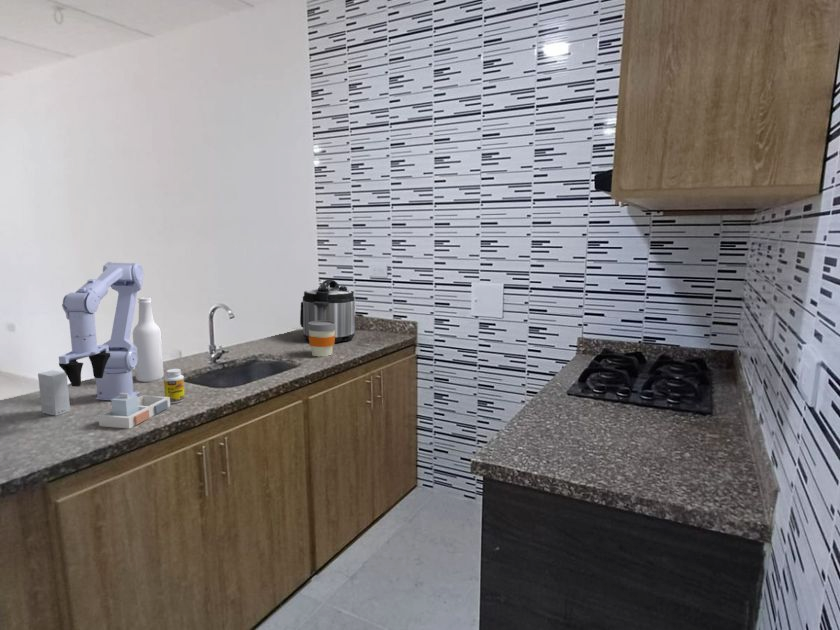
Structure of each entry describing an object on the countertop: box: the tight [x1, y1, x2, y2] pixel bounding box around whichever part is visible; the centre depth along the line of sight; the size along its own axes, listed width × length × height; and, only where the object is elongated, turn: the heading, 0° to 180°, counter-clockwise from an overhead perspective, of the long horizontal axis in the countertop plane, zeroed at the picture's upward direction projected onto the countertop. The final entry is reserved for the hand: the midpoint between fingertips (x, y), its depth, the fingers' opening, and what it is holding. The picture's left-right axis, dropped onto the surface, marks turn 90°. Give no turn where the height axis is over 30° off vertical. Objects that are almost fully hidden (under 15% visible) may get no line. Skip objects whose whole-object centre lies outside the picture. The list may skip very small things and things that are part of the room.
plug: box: [110, 393, 139, 416], centre depth 127 cm, size 4×4×8 cm
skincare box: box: [37, 370, 71, 417], centre depth 131 cm, size 6×4×12 cm
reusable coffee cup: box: [308, 321, 336, 357], centre depth 206 cm, size 13×13×15 cm
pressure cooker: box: [299, 279, 356, 343], centre depth 238 cm, size 30×28×32 cm
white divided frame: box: [97, 394, 171, 429], centre depth 131 cm, size 10×17×3 cm, turn 174°
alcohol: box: [132, 296, 165, 383], centre depth 162 cm, size 9×9×30 cm
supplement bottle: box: [163, 368, 186, 405], centre depth 143 cm, size 6×6×10 cm
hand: (87, 381), depth 128 cm, fingers open, 7 cm apart
